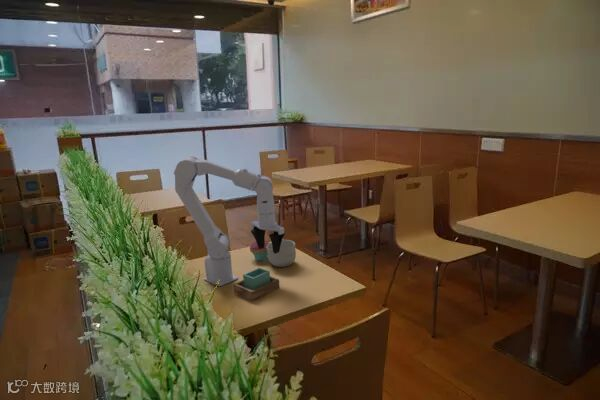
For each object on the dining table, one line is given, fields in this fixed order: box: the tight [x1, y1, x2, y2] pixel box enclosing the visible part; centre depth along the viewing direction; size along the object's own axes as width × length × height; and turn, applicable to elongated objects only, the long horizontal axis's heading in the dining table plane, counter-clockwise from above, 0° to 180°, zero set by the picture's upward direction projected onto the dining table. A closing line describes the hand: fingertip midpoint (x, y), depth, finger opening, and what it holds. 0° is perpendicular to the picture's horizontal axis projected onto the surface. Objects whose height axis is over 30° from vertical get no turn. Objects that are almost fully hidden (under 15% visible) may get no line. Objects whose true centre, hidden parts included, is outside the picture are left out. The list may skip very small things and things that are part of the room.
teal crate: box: [242, 267, 271, 291], centre depth 132 cm, size 5×7×6 cm
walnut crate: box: [232, 275, 280, 302], centre depth 132 cm, size 9×11×3 cm
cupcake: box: [249, 240, 270, 261], centre depth 159 cm, size 9×8×12 cm
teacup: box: [266, 238, 297, 268], centre depth 154 cm, size 14×11×8 cm
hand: (268, 250), depth 140 cm, fingers open, 7 cm apart
